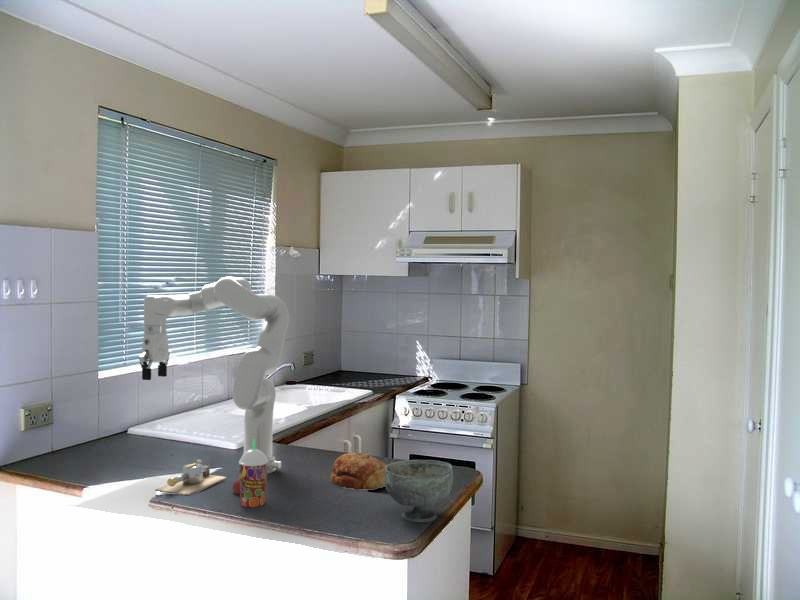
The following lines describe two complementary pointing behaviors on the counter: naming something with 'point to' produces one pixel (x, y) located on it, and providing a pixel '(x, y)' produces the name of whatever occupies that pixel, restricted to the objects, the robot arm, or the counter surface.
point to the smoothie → (253, 477)
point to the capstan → (189, 475)
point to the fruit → (236, 486)
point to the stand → (190, 489)
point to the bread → (358, 471)
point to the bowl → (419, 486)
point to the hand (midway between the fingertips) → (154, 378)
